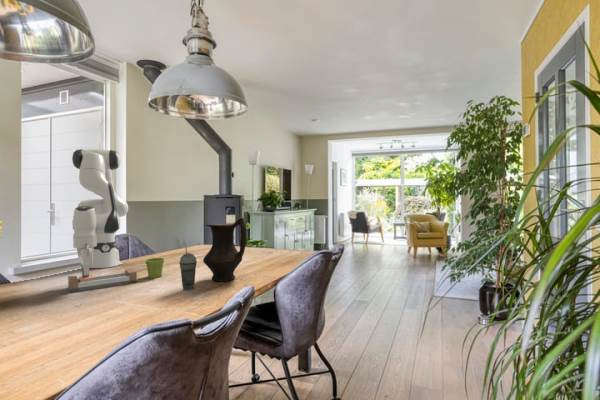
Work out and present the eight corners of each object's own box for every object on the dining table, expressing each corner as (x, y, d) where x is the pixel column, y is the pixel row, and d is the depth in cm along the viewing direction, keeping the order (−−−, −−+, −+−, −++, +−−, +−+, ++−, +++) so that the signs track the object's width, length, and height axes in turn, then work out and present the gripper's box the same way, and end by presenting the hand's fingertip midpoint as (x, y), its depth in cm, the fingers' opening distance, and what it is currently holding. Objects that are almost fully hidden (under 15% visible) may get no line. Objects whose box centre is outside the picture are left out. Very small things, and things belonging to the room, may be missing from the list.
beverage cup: (191, 292, 144) (191, 244, 144) (176, 291, 145) (175, 244, 145) (200, 287, 151) (199, 242, 151) (185, 286, 152) (184, 241, 152)
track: (68, 287, 153) (68, 276, 153) (132, 278, 168) (131, 268, 168) (69, 292, 145) (69, 280, 145) (136, 282, 161) (136, 271, 160)
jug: (195, 283, 158) (194, 218, 157) (213, 274, 176) (212, 216, 176) (239, 285, 154) (238, 218, 154) (252, 275, 172) (251, 216, 172)
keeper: (78, 283, 154) (78, 263, 154) (91, 281, 157) (91, 262, 157) (79, 286, 148) (79, 265, 148) (93, 284, 151) (93, 264, 151)
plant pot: (151, 279, 166) (150, 262, 165) (141, 277, 171) (140, 259, 171) (168, 276, 173) (168, 259, 173) (158, 273, 179) (158, 257, 179)
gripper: (96, 244, 146) (97, 277, 146) (90, 240, 162) (91, 269, 162) (79, 246, 142) (79, 279, 142) (74, 241, 158) (75, 271, 158)
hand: (85, 273), depth 152 cm, fingers closed on keeper, 3 cm apart
